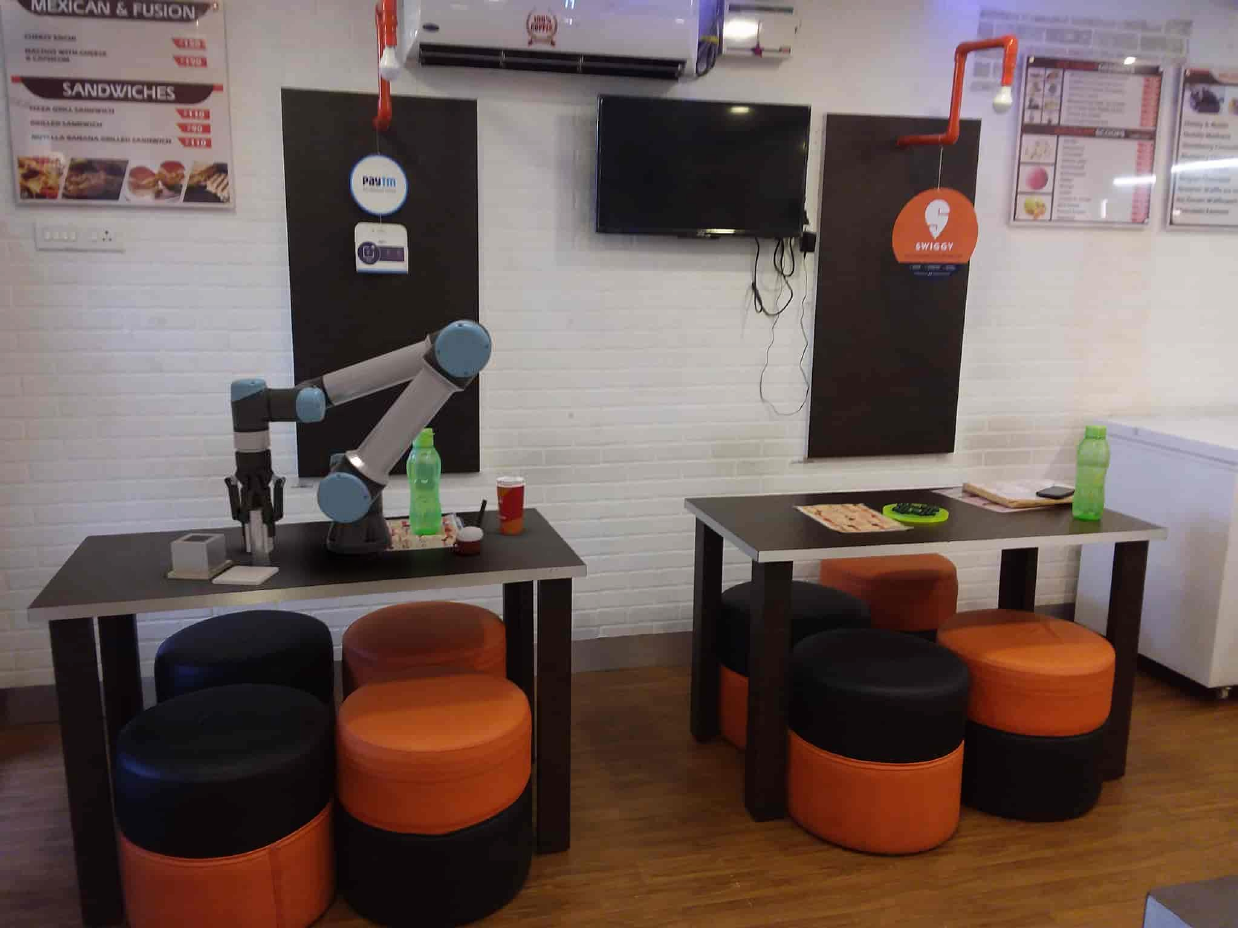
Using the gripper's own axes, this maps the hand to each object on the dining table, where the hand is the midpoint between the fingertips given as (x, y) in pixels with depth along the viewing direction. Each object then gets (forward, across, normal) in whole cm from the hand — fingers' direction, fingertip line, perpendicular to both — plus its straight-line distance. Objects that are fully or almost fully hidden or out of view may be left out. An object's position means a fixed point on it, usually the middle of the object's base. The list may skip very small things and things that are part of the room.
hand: (260, 550), depth 214 cm
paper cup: (+4, -51, -34) cm, 61 cm away
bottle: (+4, +6, -12) cm, 14 cm away
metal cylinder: (+3, 0, 0) cm, 3 cm away
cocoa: (+4, -45, -15) cm, 47 cm away
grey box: (+3, +11, +4) cm, 12 cm away
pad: (+3, -1, +9) cm, 10 cm away
